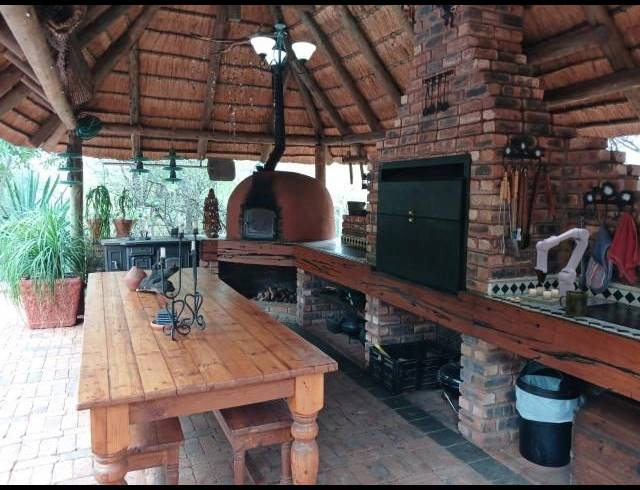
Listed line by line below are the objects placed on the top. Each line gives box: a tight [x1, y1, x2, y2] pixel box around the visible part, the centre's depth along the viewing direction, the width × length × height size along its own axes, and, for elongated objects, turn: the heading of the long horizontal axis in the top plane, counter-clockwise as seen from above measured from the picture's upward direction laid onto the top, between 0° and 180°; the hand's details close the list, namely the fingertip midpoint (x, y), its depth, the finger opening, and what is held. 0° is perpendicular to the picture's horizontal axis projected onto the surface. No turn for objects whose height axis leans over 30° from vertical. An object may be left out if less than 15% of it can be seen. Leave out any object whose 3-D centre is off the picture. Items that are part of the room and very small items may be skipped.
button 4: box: [528, 288, 537, 297], centre depth 308 cm, size 4×4×4 cm
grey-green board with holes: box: [519, 292, 566, 306], centre depth 308 cm, size 20×20×2 cm
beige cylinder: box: [536, 286, 545, 295], centre depth 314 cm, size 4×4×4 cm
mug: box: [558, 290, 589, 317], centre depth 272 cm, size 11×15×12 cm
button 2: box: [543, 290, 551, 300], centre depth 301 cm, size 4×4×4 cm
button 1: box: [550, 288, 560, 298], centre depth 306 cm, size 4×4×4 cm
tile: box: [506, 296, 524, 302], centre depth 310 cm, size 9×9×1 cm
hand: (541, 282), depth 313 cm, fingers open, 4 cm apart
